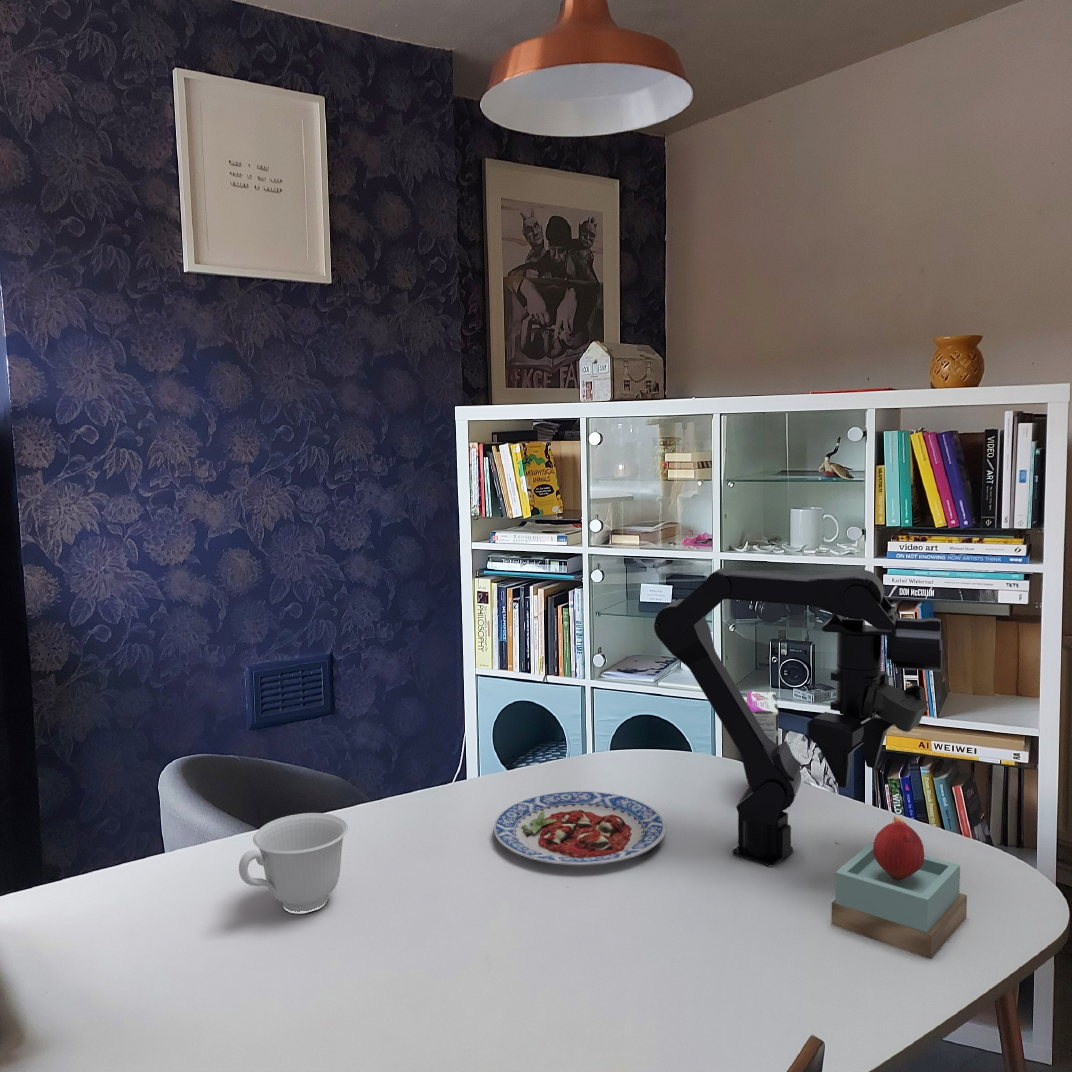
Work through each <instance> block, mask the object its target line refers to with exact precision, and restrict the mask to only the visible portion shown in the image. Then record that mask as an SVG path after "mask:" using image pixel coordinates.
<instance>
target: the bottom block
mask: <svg viewBox="0 0 1072 1072" xmlns="http://www.w3.org/2000/svg"><path fill="white" fill-rule="evenodd" d="M967 902H968V895H967V894H964V893H961V892H959V897H958V898H957V899H956V901H955V902H954V903H953V904H952V905H951V906H950V908H949V909H948V910H947V911H946V912H945V913H944V914H943V916H942V917H941V918H940V919H939V920H938V921H937V922H936V924H935V925H934V926H933V927H932V928H931V929H930V931H929V932H928V933H925V932H922V931H919V930H916V929H913V928H910V927H907V926H904V925H900V924H897V923H894V922H891V921H888V920H885V919H882V918H879V917H876V916H873V915H869V914H866V913H863V912H860V911H857V910H854V909H851V908H848V907H845V906H842V905H838V904H836V898H835V899H833V901H832V902H831V920H830V921H831V923H830V924H831V926H835V927H838V928H841V929H844V930H847V931H849V932H852V933H855V934H858V935H861V936H864V937H867V938H869V939H872V940H874V941H877V942H880V943H883V944H886V945H889V946H892V947H895V948H897V949H900V950H904V951H907V952H909V953H912V954H914V955H917V956H921V957H923V958H925V959H929V960H932V959H933V958H934V956H935V955H936V954H937V953H938V952H939V950H940V949H941V948H942V947H943V946H944V945H945V943H946V942H947V941H948V940H949V938H951V936H952V935H953V934H954V933H955V931H957V929H958V928H959V927H960V926H961V925H962V923H963V922H964V921H965V920H966V918H967V911H968V908H967V906H968V905H967V904H968V903H967Z"/></svg>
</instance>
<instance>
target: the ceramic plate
mask: <svg viewBox="0 0 1072 1072" xmlns="http://www.w3.org/2000/svg"><path fill="white" fill-rule="evenodd" d="M493 832H494V836H495V838H496V839H497V841H498V842H499V843H500V844H501V845H502V846H503V847H505V848H506V849H508V850H509V851H511V852H512V853H514V854H516V855H519V856H521V857H525V858H527V859H529V860H533V861H538V862H542V863H547V864H555V865H563V866H564V865H565V866H594V865H602V864H603V865H604V864H611V863H617V862H622V861H625V860H628V859H631V858H634V857H637V856H640V855H642V854H644V853H647V852H648V851H650V850H652V849H653V848H654V847H656V846H657V845H658V844H660V842H661V841H662V839H663V838H664V836H665V834H666V832H667V824H666V820H665V818H664V817H663V815H661V813H659V812H658V811H657V810H656V809H655V808H654V807H652V806H651V805H648V803H645V802H643V801H640V800H639V799H635V798H632V797H629V796H625V795H620V794H616V793H610V792H603V791H589V790H573V791H572V790H571V791H559V792H551V793H545V794H540V795H535V796H532V797H528V798H526V799H523V800H521V801H519V802H516V803H514V804H512V805H510V806H509V807H507V808H506V809H504V810H503V811H501V813H499V815H498V816H497V818H496V819H495V821H494V824H493Z"/></svg>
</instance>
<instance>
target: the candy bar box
mask: <svg viewBox="0 0 1072 1072" xmlns="http://www.w3.org/2000/svg"><path fill="white" fill-rule="evenodd" d="M746 703H747V705H748V706H749V708H750V709H751V711H752V713H753V714H754V716H755V718H756V719H757V721H758V723H759V724H760V726H761V728H762V729H763V731H764V733H765V734H766V735H767V737H768V738H769V739H771V740H772V741H773V742H774V743H776V744H777V745H778V746H779V745H780V744H779V708H778V707H779V705H778V699H777V694H776V692H775V691H754V690H751V691H747V692H746ZM746 781H747V780H746ZM746 784H747V785H746V786H748V785H749V783H748V781H747V783H746Z"/></svg>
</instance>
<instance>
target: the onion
mask: <svg viewBox="0 0 1072 1072" xmlns="http://www.w3.org/2000/svg"><path fill="white" fill-rule="evenodd" d="M873 842H874V844H873V852H874V857H875V859H876V861H877V862H878V864H879V865H880V866H881V867H882V868H883V869H884V870H885V871H886V872H887V873H888V874H889V875H890V876H891V878H893V879H894V880H901V879H904V878H907V877H909V876H911V875H912V874H914V873H915V872H917V871H918V870H919V869H920V868H921V866H922V865H923V861H924V856H925V850H924V845H923V844H924V843H923V841H922V839H921V837H920V836H919V834H918V833H917V832H916V831H915V830H914V829H913V828H912V827H910V826H909V825H908V824H907V823H906V822H904V820H903V819H902V817H900V816H899V815H894V816H893V822H891V823H889V824H886V825H885V826H883V828H882V829H880V830H879V831H878V832H877V834H876V836H875V838H874V841H873Z"/></svg>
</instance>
